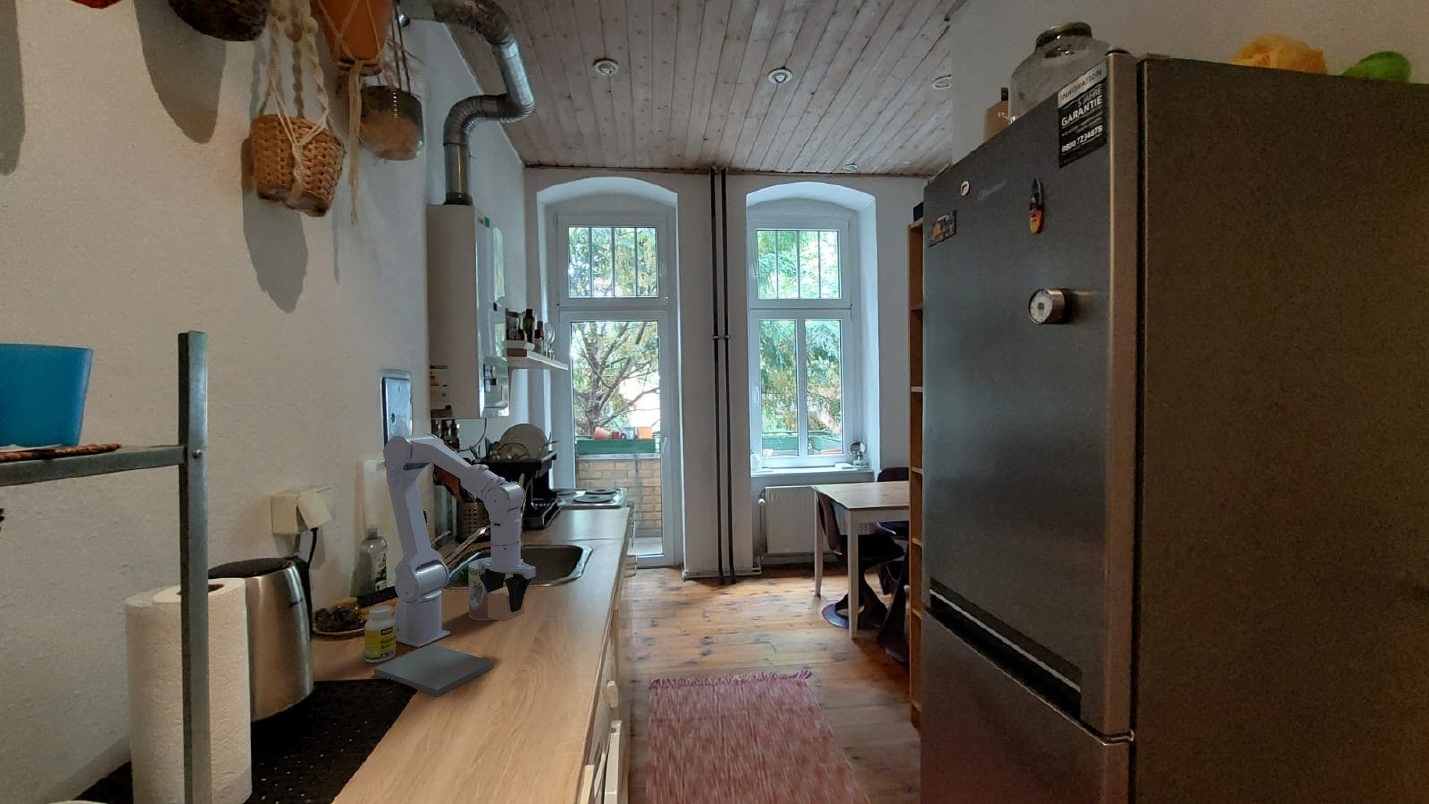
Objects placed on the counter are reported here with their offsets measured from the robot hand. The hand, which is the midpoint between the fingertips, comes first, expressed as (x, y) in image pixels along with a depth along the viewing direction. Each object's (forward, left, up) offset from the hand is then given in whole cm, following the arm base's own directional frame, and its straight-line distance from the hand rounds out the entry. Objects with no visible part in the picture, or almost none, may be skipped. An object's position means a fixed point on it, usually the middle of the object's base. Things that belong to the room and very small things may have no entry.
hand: (506, 608), depth 117 cm
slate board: (-5, -13, -8) cm, 16 cm away
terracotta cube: (0, 0, -1) cm, 1 cm away
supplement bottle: (-20, -14, -9) cm, 26 cm away
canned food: (-20, +14, -9) cm, 26 cm away
